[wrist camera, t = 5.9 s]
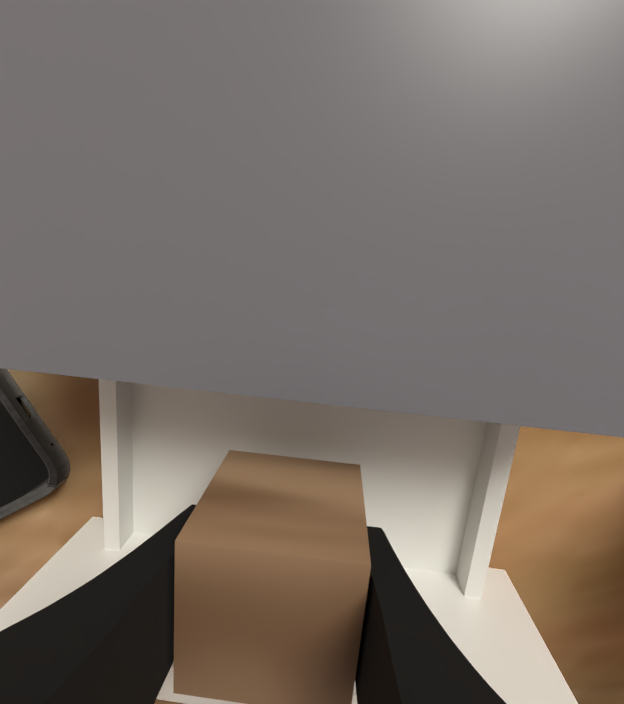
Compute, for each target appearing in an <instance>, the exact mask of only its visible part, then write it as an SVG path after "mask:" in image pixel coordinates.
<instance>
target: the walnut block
mask: <svg viewBox="0 0 624 704" xmlns="http://www.w3.org/2000/svg"><path fill="white" fill-rule="evenodd" d="M370 570H371V560H370V551H369V541H368V532H367V523H366V514H365V505H364V496H363V487H362V477H361V468H360V465H357V464H349V463H340V462H331V461H322V460H313V459H305V458H296V457H287V456H278V455H270V454H261V453H252V452H243V451H234V450H229V452H228V453H227V455H226V457H225V458H224V460H223V462H222V463H221V465H220V467H219V468H218V470H217V472H216V473H215V475H214V477H213V478H212V480H211V482H210V483H209V485H208V487H207V488H206V490H205V492H204V493H203V495H202V497H201V498H200V500H199V502H198V503H197V505H196V507H195V508H194V510H193V512H192V513H191V515H190V517H189V518H188V520H187V521H186V523H185V525H184V526H183V528H182V530H181V531H180V533H179V535H178V536H177V538H176V540H175V574H174V682H173V693H176V694H183V695H190V696H197V697H203V698H210V699H217V700H224V701H231V702H238V703H244V704H352V697H353V690H354V683H355V676H356V669H357V662H358V655H359V648H360V641H361V634H362V627H363V620H364V613H365V605H366V598H367V591H368V584H369V577H370Z"/></svg>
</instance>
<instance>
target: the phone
mask: <svg viewBox="0 0 624 704" xmlns="http://www.w3.org/2000/svg"><path fill="white" fill-rule="evenodd" d="M17 398H20V399H21V400H22V402H23V403H24V404H25V406H26V407H27V409H28V410H29V412H30V413H31V414H32V416H33V417H31V418H29V417H28V415H27V414H26V412H25V411H24V409H23V408H22V407H21V405H20V404H19V402H18V401H17ZM51 443H53V444H54V445H53V446H52V445H51ZM69 472H70V463H69V459H68V457H67V455H66V453H65V452H64V450H63V449H62V447H61V446H60V445H59V443H58V442H57V440H56V439H55V437H54V436H53V435H52V433H51V432H50V430H49V429H48V427H47V426H46V425H45V423H44V422H43V420H42V419H41V417H40V416H39V415H38V413H37V412H36V410H35V409H34V407H33V406H32V405H31V403H30V402H29V400H28V399H27V397H26V396H25V395H24V393H23V392H22V390H21V389H20V387H19V386H18V385H17V383H16V382H15V380H14V379H13V377H12V376H11V375H10V373H9V372H8V370H7V369H3V368H0V519H1V518H3V517H5V516H7V515H9V514H11V513H13V512H15V511H17V510H19V509H21V508H23V507H25V506H27V505H29V504H31V503H33V502H35V501H37V500H39V499H41V498H43V497H44V496H46V495H48V494H49V493H50V492H52V491H53V490H54V489H56V488H57V487H58V486H60V485H61V484H62V483H63V482H65V481H66V479H67V478H68V476H69Z"/></svg>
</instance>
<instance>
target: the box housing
mask: <svg viewBox="0 0 624 704" xmlns="http://www.w3.org/2000/svg"><path fill="white" fill-rule="evenodd" d="M0 368H3V369H12V370H21V371H30V372H39V373H48V374H57V375H66V376H75V377H84V378H93V379H102V380H111V381H120V382H129V383H138V384H147V385H156V386H165V387H174V388H183V389H192V390H201V391H210V392H219V393H228V394H237V395H247V396H256V397H265V398H274V399H283V400H292V401H301V402H310V403H319V404H328V405H337V406H346V407H355V408H364V409H373V410H382V411H391V412H400V413H409V414H418V415H427V416H436V417H445V418H454V419H463V420H472V421H481V422H490V423H499V424H508V425H517V426H526V427H535V428H544V429H553V430H562V431H571V432H580V433H589V434H598V435H607V436H616V437H624V0H0Z"/></svg>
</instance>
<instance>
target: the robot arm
mask: <svg viewBox="0 0 624 704" xmlns="http://www.w3.org/2000/svg"><path fill="white" fill-rule="evenodd" d="M195 507H196V505H194V504H192V505H190V506H189V507H188V508H187V509H185V510H184V511H183V512H181V513H180V514H179V515H178V516H176V517H175V518H174V519H173V520H171V521H170V522H169V523H168V524H166V525H165V526H164V527H163V528H161V529H160V530H159V531H158V532H156V533H155V534H154V535H153V536H151V537H150V538H149V539H147V540H146V541H145V542H143V543H142V544H141V545H139V546H138V547H137V548H136V549H134V550H133V551H132V552H130V553H129V554H128V555H126V556H125V557H123V558H122V559H121V560H119V561H118V562H116V563H115V564H113V565H112V566H111V567H109V568H108V569H106V570H105V571H103V572H102V573H101V574H99V575H98V576H96V577H95V578H93V579H92V580H90V581H89V582H87V583H85V584H84V585H82V586H81V587H79V588H77V589H76V590H74V591H72V592H71V593H69V594H67V595H66V596H64V597H62V598H61V599H59V600H57V601H56V602H54V603H52V604H51V605H49V606H47V607H45V608H44V609H42V610H40V611H38V612H36V613H34V614H32V615H30V616H28V617H26V618H25V619H23V620H21V621H19V622H17V623H15V624H13V625H11V626H9V627H7V628H6V629H4V630H2V631H0V704H154V703H155V700H156V698H157V696H158V694H159V692H160V690H161V687H162V685H163V683H164V681H165V679H166V677H167V674H168V672H169V670H170V668H171V666H172V664H173V661H174V574H175V540H176V538H177V536H178V535H179V533H180V531H181V530H182V528H183V526H184V525H185V523H186V521H187V520H188V518H189V517H190V515H191V513H192V512H193V510H194V508H195ZM367 532H368V541H369V551H370V560H371V570H370V577H369V584H368V591H367V598H366V605H365V613H364V620H363V627H362V634H361V641H360V648H359V655H358V662H357V669H356V676H355V685H356V695H357V704H506V703H505V701H504V700H503V699H502V698H501V697H500V696H499V695H498V694H497V693H496V692H495V691H494V690H493V689H492V688H491V686H490V685H489V684H488V683H487V682H486V681H485V680H484V679H483V677H482V676H481V675H480V674H479V673H478V672H477V670H476V669H475V668H474V667H473V666H472V664H471V663H470V662H469V661H468V659H467V658H466V657H465V656H464V655H463V653H462V652H461V651H460V650H459V648H458V647H457V646H456V644H455V643H454V642H453V641H452V639H451V638H450V637H449V635H448V634H447V633H446V631H445V630H444V628H443V627H442V626H441V624H440V623H439V621H438V620H437V619H436V617H435V616H434V614H433V613H432V612H431V610H430V609H429V607H428V606H427V604H426V603H425V601H424V600H423V598H422V597H421V595H420V593H419V592H418V590H417V589H416V587H415V586H414V584H413V582H412V581H411V579H410V578H409V576H408V574H407V573H406V571H405V569H404V568H403V566H402V564H401V562H400V561H399V559H398V557H397V555H396V553H395V552H394V550H393V548H392V546H391V544H390V542H389V540H388V538H387V536H386V534H385V532H384V531H383V530H382V528H379V527H371V526H367Z"/></svg>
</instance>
